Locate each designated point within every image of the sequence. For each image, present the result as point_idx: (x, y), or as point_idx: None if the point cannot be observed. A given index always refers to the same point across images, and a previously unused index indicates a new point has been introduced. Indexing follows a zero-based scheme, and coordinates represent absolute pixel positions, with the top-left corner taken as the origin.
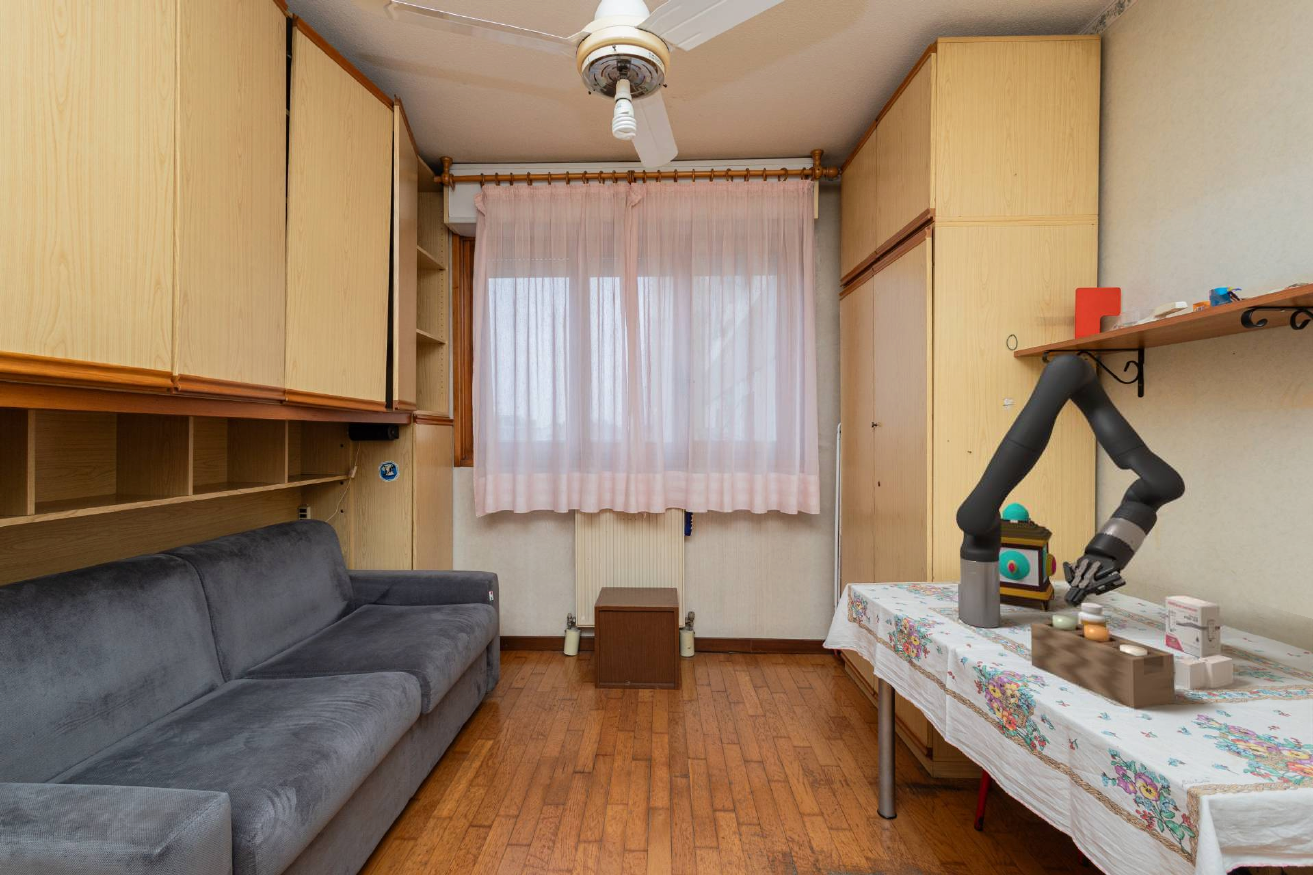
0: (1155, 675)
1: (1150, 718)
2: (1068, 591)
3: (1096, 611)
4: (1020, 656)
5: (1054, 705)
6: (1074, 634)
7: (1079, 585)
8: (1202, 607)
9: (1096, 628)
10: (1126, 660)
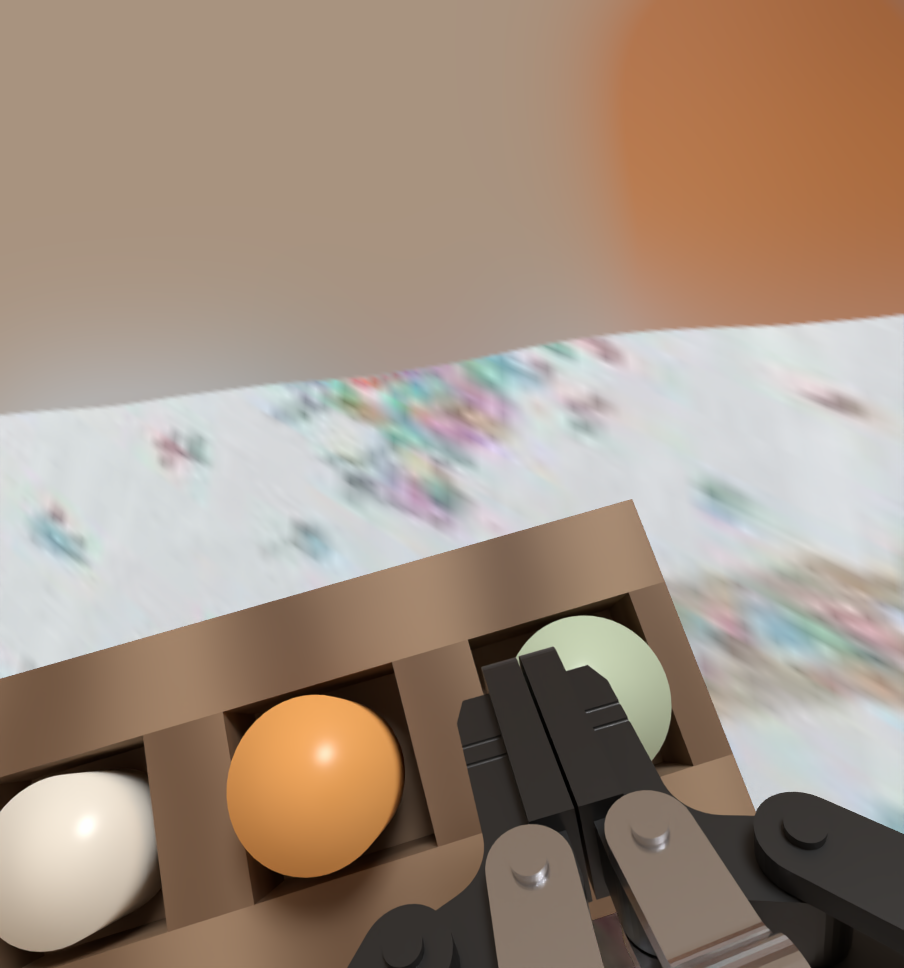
0: None
1: None
2: (628, 735)
3: None
4: (705, 578)
5: (167, 409)
6: (403, 659)
7: (561, 845)
8: None
9: (301, 774)
10: None
